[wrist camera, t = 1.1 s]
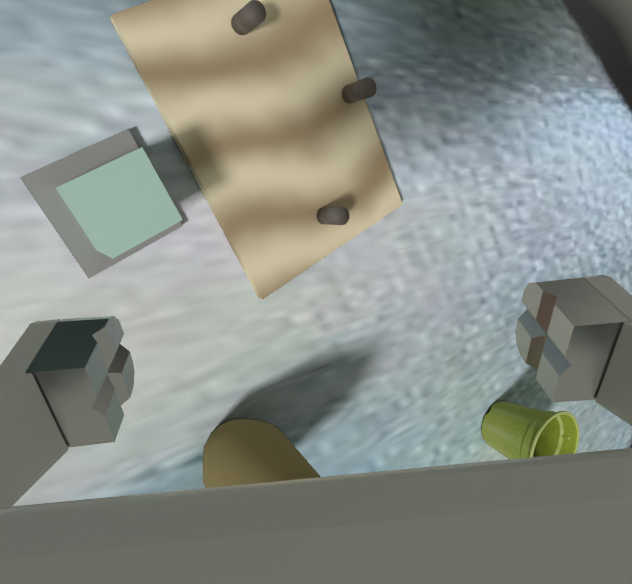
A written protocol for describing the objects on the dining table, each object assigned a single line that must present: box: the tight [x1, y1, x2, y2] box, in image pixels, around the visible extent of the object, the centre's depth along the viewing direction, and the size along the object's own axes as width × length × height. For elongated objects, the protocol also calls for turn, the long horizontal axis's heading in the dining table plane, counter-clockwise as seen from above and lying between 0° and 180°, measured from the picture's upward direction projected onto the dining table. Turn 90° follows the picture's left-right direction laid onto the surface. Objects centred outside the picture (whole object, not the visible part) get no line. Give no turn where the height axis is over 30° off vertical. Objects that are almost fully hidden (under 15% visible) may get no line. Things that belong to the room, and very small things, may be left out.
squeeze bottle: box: [203, 419, 320, 488], centre depth 38 cm, size 8×8×18 cm
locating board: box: [110, 0, 402, 299], centre depth 41 cm, size 24×18×4 cm
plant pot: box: [482, 401, 579, 459], centre depth 62 cm, size 9×9×9 cm
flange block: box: [21, 129, 183, 278], centre depth 33 cm, size 8×8×8 cm
